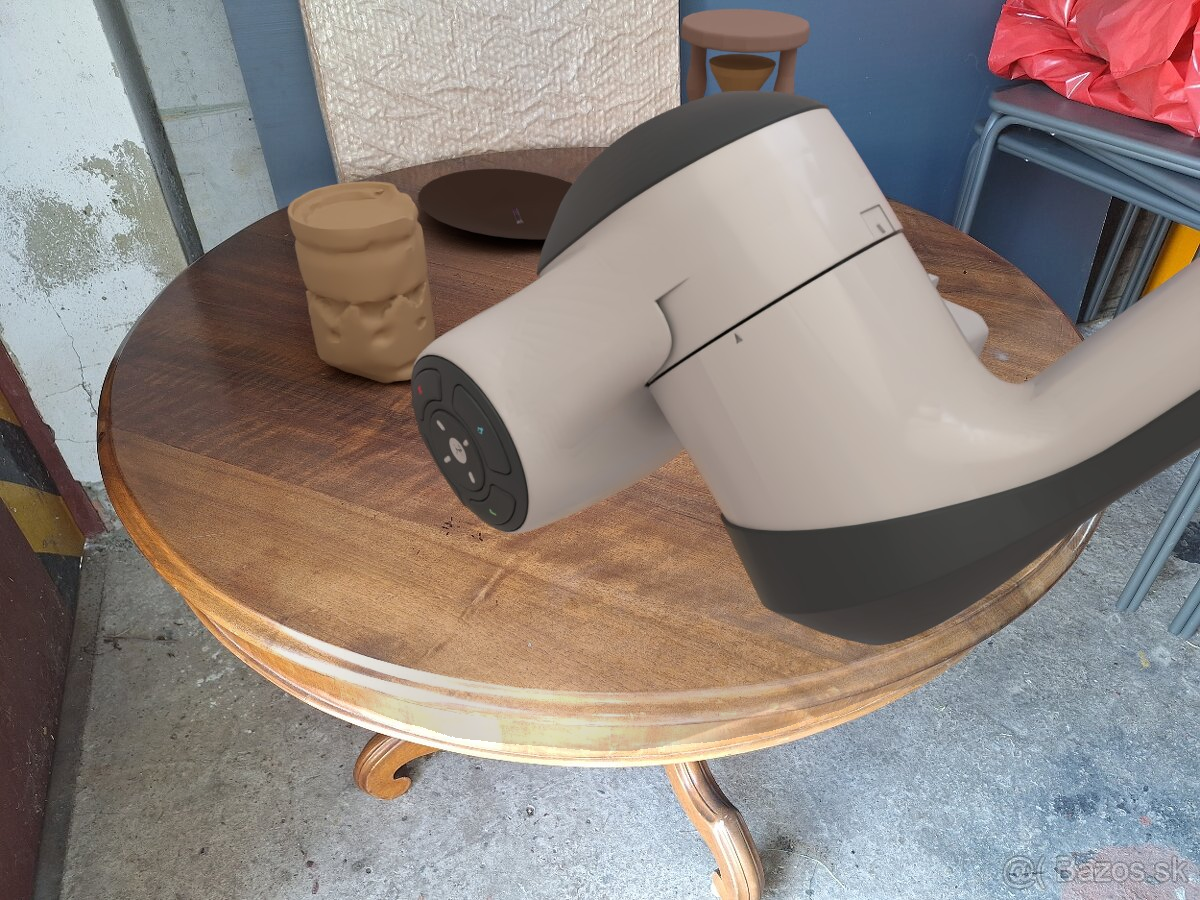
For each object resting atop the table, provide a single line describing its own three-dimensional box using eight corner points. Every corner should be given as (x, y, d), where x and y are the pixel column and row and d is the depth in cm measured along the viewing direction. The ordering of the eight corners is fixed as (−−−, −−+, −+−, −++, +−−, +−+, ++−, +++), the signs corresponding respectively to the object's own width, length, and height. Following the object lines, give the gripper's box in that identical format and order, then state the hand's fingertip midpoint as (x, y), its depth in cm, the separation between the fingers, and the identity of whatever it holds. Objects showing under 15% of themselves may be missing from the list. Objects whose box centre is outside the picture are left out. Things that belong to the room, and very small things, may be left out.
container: (424, 326, 105) (405, 174, 94) (450, 380, 95) (431, 218, 84) (314, 346, 101) (281, 190, 90) (329, 403, 91) (294, 237, 81)
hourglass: (807, 194, 139) (832, 19, 124) (749, 229, 128) (770, 41, 113) (711, 169, 148) (724, 3, 133) (649, 200, 137) (656, 22, 122)
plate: (633, 246, 123) (634, 220, 121) (428, 265, 118) (425, 239, 116) (589, 176, 145) (589, 154, 143) (414, 190, 140) (411, 167, 137)
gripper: (941, 356, 35) (1050, 270, 44) (560, 186, 45) (715, 144, 54) (890, 481, 39) (1000, 378, 48) (548, 300, 48) (694, 242, 58)
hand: (846, 253), depth 51 cm, fingers open, 8 cm apart
